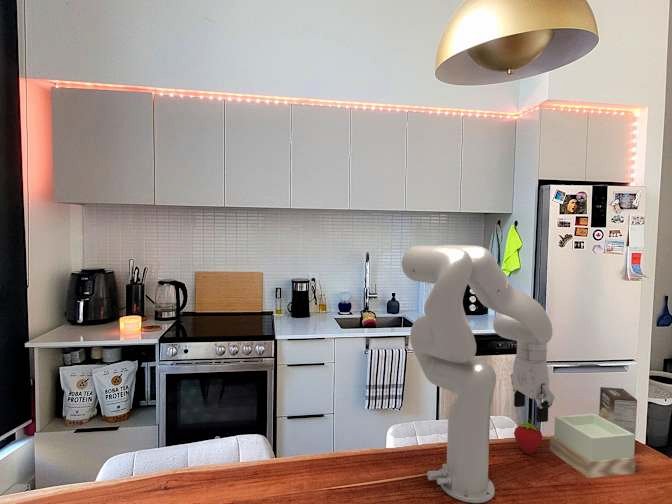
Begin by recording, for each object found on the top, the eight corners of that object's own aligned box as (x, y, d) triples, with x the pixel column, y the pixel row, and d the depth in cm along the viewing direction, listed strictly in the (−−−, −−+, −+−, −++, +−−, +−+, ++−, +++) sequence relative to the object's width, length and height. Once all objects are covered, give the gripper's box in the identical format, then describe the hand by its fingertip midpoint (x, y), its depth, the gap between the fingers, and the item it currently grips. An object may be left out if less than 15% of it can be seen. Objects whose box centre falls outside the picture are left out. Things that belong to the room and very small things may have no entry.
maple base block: (587, 479, 103) (588, 462, 103) (549, 451, 117) (550, 436, 117) (634, 475, 106) (635, 458, 105) (591, 447, 119) (592, 432, 119)
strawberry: (509, 448, 117) (510, 413, 117) (535, 448, 117) (536, 414, 117) (518, 459, 111) (520, 423, 111) (546, 459, 111) (547, 423, 111)
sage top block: (591, 461, 103) (592, 438, 103) (554, 437, 116) (555, 416, 116) (633, 457, 106) (634, 434, 106) (593, 433, 119) (593, 413, 118)
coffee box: (596, 437, 125) (599, 386, 124) (620, 440, 123) (622, 388, 123) (610, 453, 116) (613, 397, 115) (636, 455, 114) (638, 399, 114)
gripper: (501, 345, 121) (500, 402, 122) (540, 364, 104) (539, 429, 105) (523, 344, 123) (522, 400, 124) (566, 362, 106) (564, 426, 107)
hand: (530, 413), depth 114 cm, fingers open, 9 cm apart
